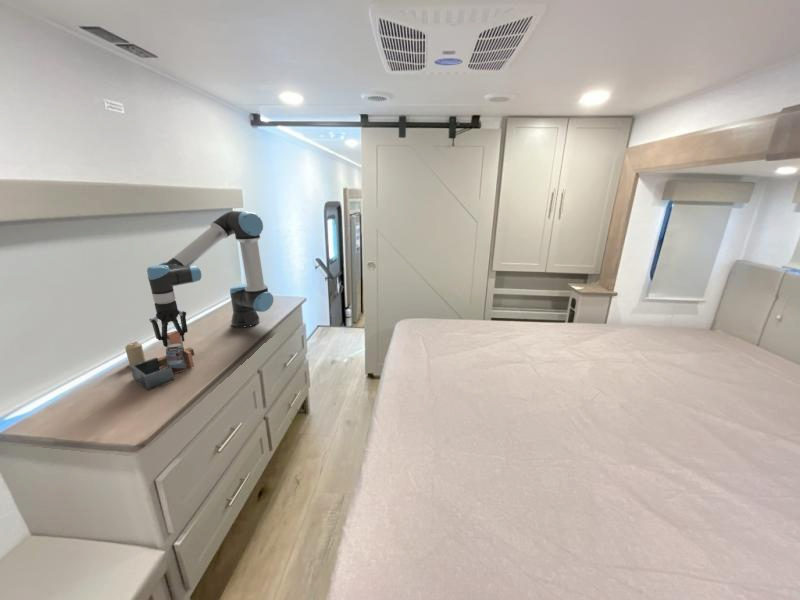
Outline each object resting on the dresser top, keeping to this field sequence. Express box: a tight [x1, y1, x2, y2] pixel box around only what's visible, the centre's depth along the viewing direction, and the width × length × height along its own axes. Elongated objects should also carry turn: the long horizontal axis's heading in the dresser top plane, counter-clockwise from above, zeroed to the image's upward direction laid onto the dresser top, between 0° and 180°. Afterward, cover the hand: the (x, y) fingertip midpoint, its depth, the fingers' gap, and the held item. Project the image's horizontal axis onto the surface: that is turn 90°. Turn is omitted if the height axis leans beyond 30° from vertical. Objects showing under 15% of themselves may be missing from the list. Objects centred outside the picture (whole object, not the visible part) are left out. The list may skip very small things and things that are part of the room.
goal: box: [129, 357, 175, 391], centre depth 125 cm, size 9×14×6 cm, turn 57°
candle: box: [125, 341, 147, 367], centre depth 136 cm, size 6×6×10 cm
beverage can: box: [165, 344, 186, 374], centre depth 131 cm, size 6×7×12 cm
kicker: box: [167, 330, 195, 368], centre depth 137 cm, size 4×16×12 cm, turn 57°
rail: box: [157, 347, 195, 368], centre depth 140 cm, size 16×3×3 cm, turn 147°
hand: (175, 350), depth 141 cm, fingers closed on kicker, 4 cm apart
